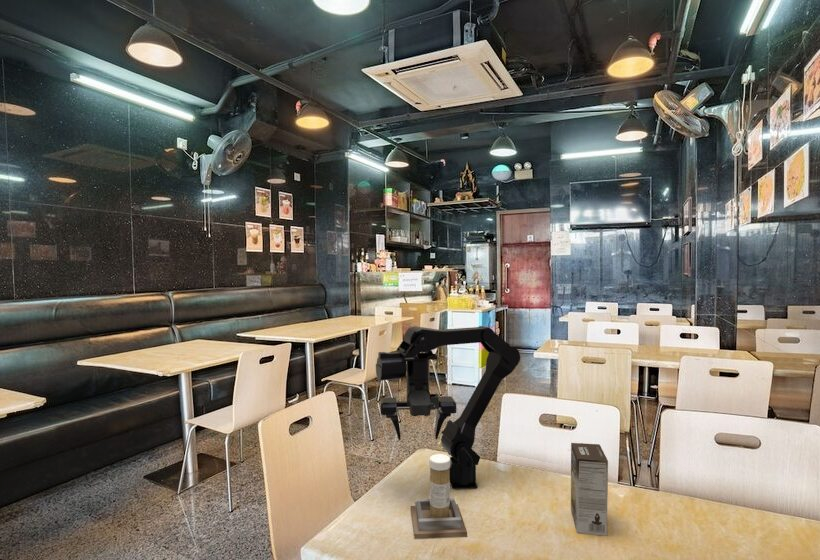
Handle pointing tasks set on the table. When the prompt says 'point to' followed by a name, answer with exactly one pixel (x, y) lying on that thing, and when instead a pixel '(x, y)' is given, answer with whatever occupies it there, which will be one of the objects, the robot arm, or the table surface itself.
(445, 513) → the sprinkles bottle
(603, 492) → the coffee box
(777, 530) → the table surface
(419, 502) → the socket board
